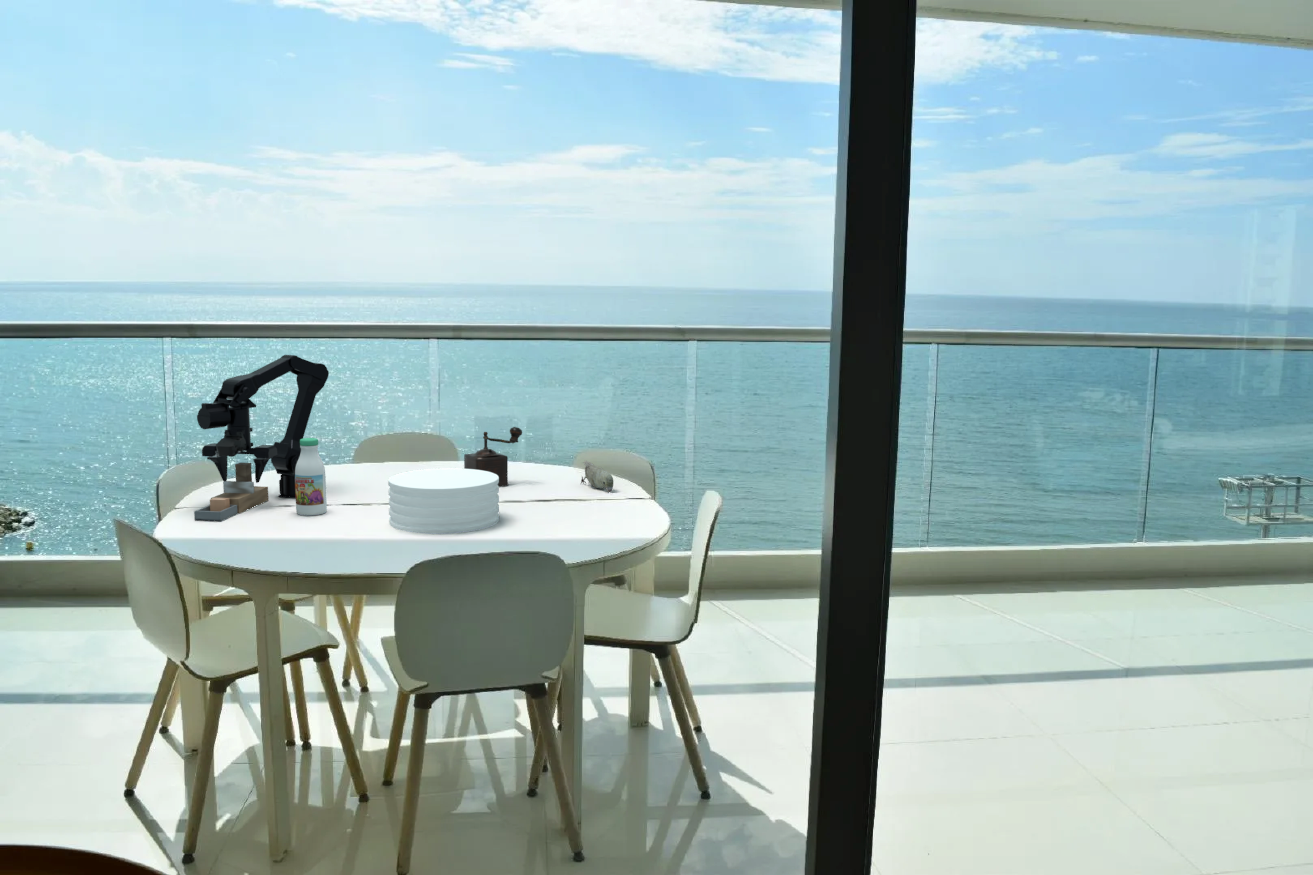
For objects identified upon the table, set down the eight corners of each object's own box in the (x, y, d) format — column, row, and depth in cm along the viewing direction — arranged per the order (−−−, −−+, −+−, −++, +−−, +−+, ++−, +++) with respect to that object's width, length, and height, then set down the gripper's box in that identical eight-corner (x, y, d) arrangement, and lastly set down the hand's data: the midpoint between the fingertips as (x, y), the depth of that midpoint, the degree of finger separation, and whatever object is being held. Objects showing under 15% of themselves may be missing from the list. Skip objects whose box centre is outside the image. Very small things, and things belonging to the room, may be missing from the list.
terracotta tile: (229, 498, 260) (224, 500, 258) (230, 512, 261) (225, 515, 259) (214, 497, 261) (209, 499, 258) (215, 512, 261) (210, 514, 259)
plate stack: (372, 517, 262) (371, 474, 260) (469, 504, 279) (468, 464, 277) (416, 539, 240) (415, 493, 238) (518, 524, 257) (518, 481, 255)
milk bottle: (302, 509, 269) (299, 436, 266) (330, 509, 269) (328, 436, 266) (291, 516, 261) (289, 440, 258) (321, 516, 261) (318, 441, 258)
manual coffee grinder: (478, 489, 298) (477, 430, 296) (463, 483, 307) (462, 426, 305) (524, 485, 307) (524, 427, 304) (509, 479, 316) (508, 423, 313)
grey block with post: (261, 489, 274) (260, 463, 273) (252, 493, 269) (250, 466, 268) (233, 488, 274) (232, 462, 273) (223, 492, 269) (222, 465, 268)
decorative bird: (602, 494, 296) (603, 469, 295) (577, 485, 309) (577, 461, 308) (618, 492, 299) (618, 468, 298) (593, 483, 312) (593, 460, 311)
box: (237, 514, 262) (237, 504, 262) (220, 521, 254) (220, 512, 253) (212, 513, 262) (211, 504, 262) (194, 520, 254) (194, 511, 254)
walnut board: (268, 500, 279) (267, 486, 278) (239, 513, 262) (238, 499, 262) (242, 499, 279) (241, 485, 279) (211, 512, 263) (210, 498, 262)
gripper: (189, 428, 261) (192, 486, 263) (257, 430, 260) (260, 489, 262) (211, 422, 272) (214, 478, 274) (277, 424, 271) (279, 480, 273)
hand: (241, 481), depth 271 cm, fingers open, 9 cm apart
